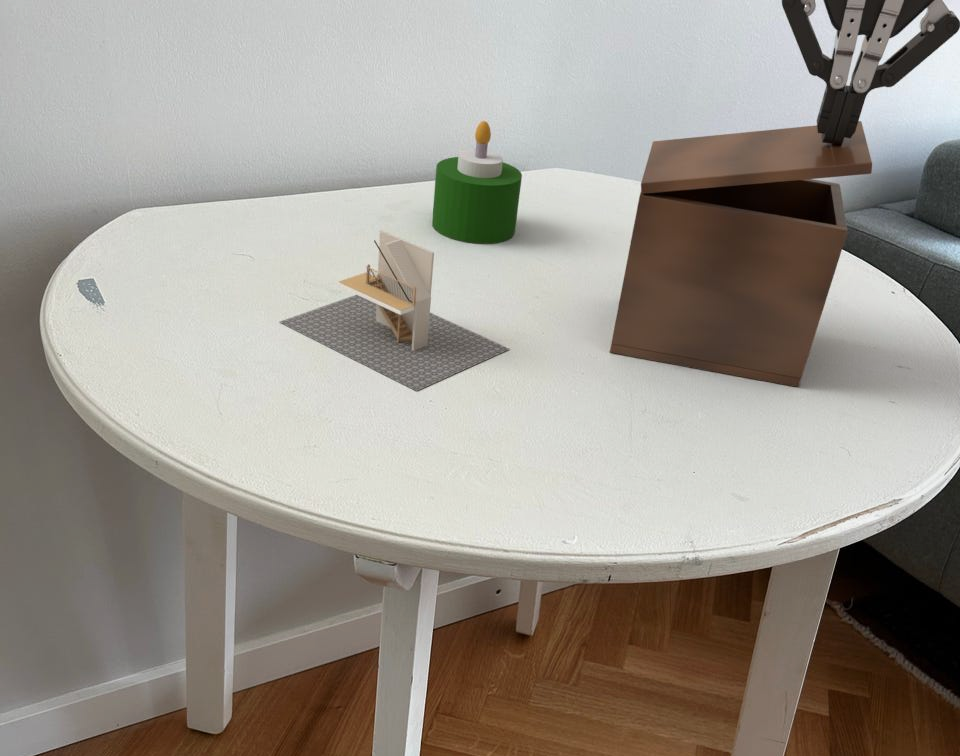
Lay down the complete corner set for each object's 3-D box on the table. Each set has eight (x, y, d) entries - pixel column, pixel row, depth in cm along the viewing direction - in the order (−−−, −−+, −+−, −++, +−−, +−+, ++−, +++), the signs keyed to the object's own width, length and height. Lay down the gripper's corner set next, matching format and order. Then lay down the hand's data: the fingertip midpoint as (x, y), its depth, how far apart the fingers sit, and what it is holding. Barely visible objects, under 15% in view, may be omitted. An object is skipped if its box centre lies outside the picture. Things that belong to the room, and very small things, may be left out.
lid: (860, 131, 88) (861, 120, 88) (871, 174, 80) (872, 162, 79) (653, 151, 92) (652, 141, 92) (641, 194, 84) (640, 183, 83)
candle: (442, 207, 114) (451, 103, 108) (521, 221, 113) (534, 117, 107) (423, 234, 108) (430, 124, 101) (506, 249, 107) (519, 140, 101)
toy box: (795, 330, 99) (839, 183, 91) (798, 387, 90) (848, 230, 82) (623, 299, 101) (651, 151, 92) (609, 352, 92) (639, 194, 84)
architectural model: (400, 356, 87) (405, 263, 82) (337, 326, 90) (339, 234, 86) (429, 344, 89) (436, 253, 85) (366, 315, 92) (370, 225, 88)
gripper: (1004, -126, 75) (914, 142, 86) (809, -154, 76) (744, 114, 87) (1024, -116, 70) (924, 170, 81) (812, -146, 71) (743, 140, 82)
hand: (830, 141), depth 84 cm, fingers closed
